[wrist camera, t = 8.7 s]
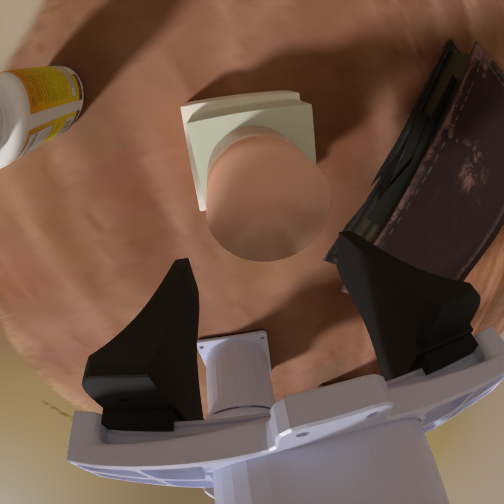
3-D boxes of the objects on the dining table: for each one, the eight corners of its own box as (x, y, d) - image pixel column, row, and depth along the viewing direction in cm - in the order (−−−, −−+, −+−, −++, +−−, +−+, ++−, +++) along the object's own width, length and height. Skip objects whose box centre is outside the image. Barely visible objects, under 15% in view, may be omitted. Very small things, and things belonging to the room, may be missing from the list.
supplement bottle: (39, 62, 13) (-55, 76, 4) (96, 71, 14) (8, 80, 6) (23, 128, 15) (-63, 177, 7) (76, 141, 17) (-5, 199, 9)
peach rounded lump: (301, 203, 15) (330, 249, 12) (217, 218, 15) (220, 270, 11) (294, 119, 13) (329, 140, 9) (199, 135, 12) (193, 161, 9)
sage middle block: (301, 187, 19) (318, 211, 16) (211, 203, 18) (212, 230, 16) (292, 98, 15) (311, 104, 12) (191, 114, 15) (186, 123, 12)
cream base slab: (291, 178, 22) (303, 196, 19) (201, 190, 21) (200, 211, 19) (285, 89, 18) (299, 92, 15) (186, 102, 17) (180, 106, 15)
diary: (515, 138, 21) (543, 154, 17) (422, 291, 33) (440, 317, 29) (437, 32, 15) (477, 34, 10) (314, 254, 27) (332, 291, 22)
